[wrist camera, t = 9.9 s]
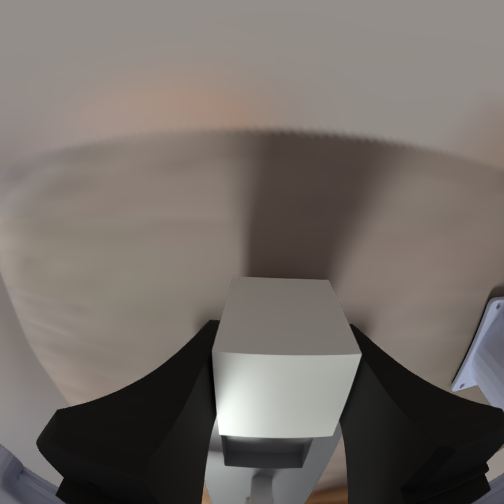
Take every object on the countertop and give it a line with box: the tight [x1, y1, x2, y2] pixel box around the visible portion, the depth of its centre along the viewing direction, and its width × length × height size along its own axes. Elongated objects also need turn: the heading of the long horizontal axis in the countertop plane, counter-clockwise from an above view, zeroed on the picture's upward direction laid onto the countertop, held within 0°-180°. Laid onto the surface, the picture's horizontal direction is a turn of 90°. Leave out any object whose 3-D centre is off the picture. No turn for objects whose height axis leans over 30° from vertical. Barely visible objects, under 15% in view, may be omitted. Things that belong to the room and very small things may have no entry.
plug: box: [212, 276, 362, 438], centre depth 10 cm, size 4×4×5 cm
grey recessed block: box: [205, 416, 342, 504], centre depth 15 cm, size 9×22×6 cm, turn 179°
